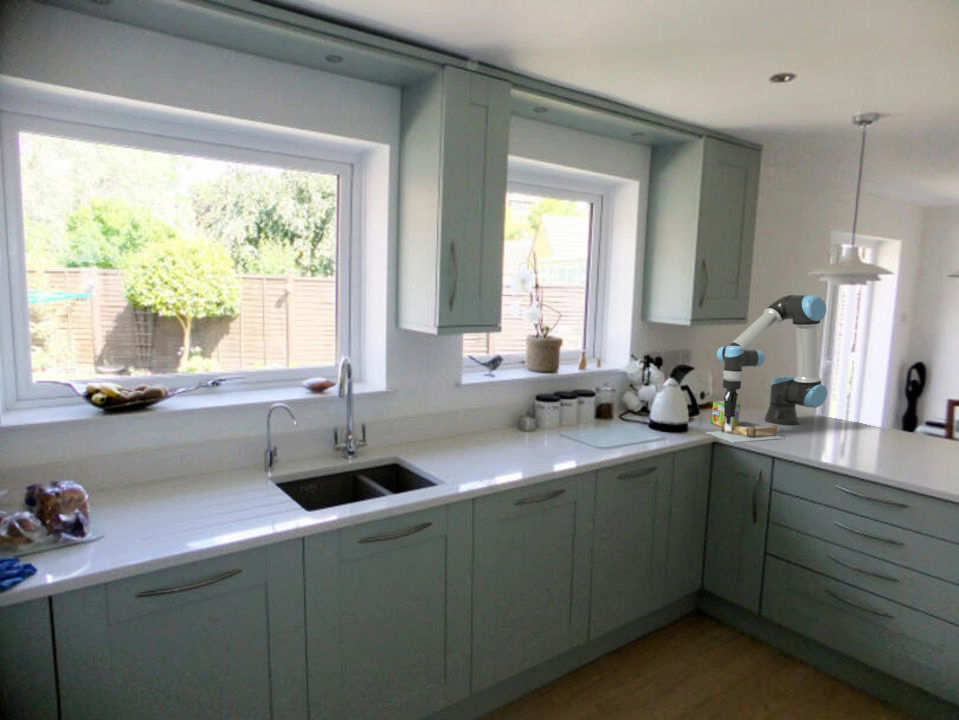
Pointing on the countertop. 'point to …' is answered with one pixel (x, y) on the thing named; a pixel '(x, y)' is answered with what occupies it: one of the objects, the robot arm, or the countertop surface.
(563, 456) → the countertop surface
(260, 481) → the countertop surface
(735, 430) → the tan wooden bar
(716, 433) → the card
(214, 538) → the countertop surface
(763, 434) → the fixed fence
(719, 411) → the chalk box
